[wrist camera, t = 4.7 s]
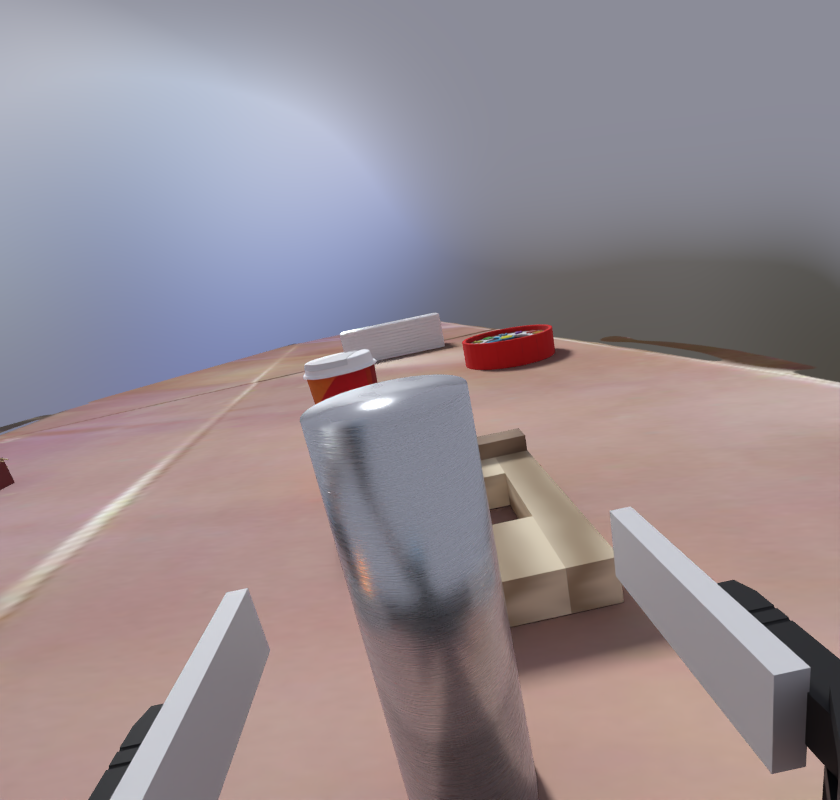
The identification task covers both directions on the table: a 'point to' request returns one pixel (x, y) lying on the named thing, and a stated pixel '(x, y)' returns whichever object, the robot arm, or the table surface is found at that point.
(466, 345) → the toy clock
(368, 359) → the paper cup
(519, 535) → the frame
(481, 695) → the brushed metal cylinder
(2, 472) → the toy houses
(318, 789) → the table surface
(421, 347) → the stack of papers
